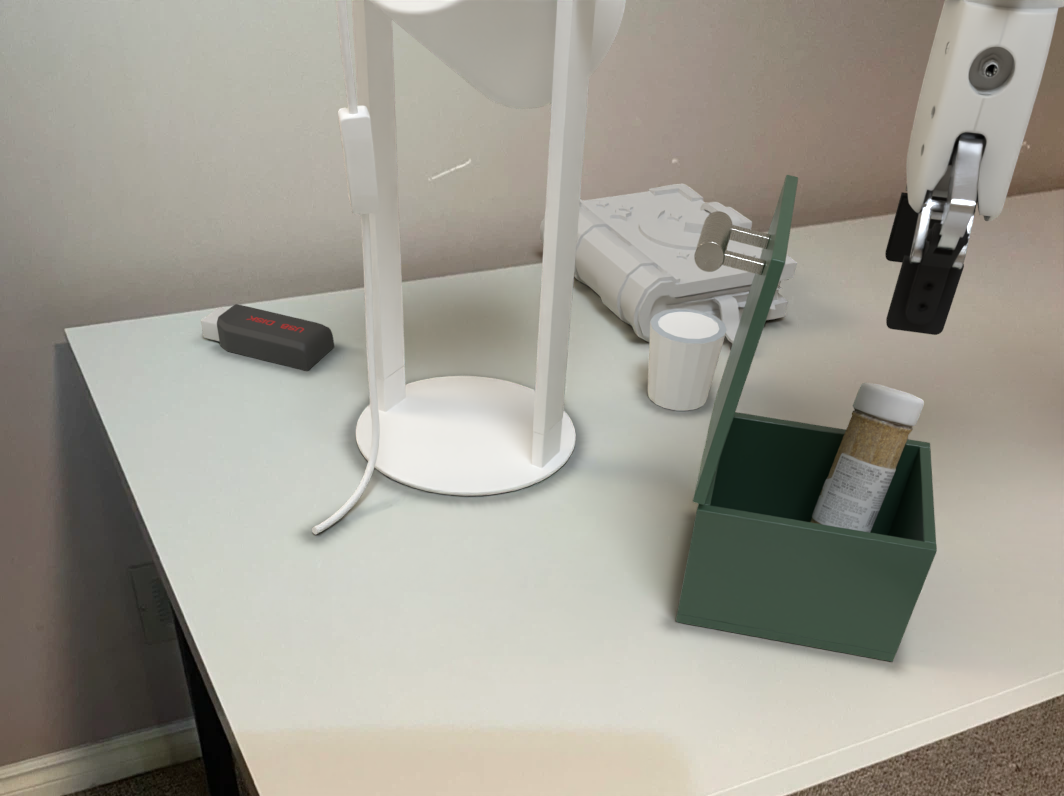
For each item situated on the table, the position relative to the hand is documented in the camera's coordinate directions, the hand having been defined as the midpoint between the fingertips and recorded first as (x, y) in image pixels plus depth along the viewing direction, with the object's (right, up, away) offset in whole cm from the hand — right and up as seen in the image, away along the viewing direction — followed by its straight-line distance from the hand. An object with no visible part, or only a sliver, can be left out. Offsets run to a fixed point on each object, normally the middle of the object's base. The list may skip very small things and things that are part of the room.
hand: (911, 294), depth 65 cm
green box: (-3, -16, +16) cm, 23 cm away
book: (-8, +20, +51) cm, 55 cm away
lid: (-9, -2, +4) cm, 10 cm away
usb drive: (-49, +10, +39) cm, 63 cm away
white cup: (-9, +4, +36) cm, 37 cm away
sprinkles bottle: (-1, -15, +15) cm, 21 cm away
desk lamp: (-30, -3, +27) cm, 41 cm away
